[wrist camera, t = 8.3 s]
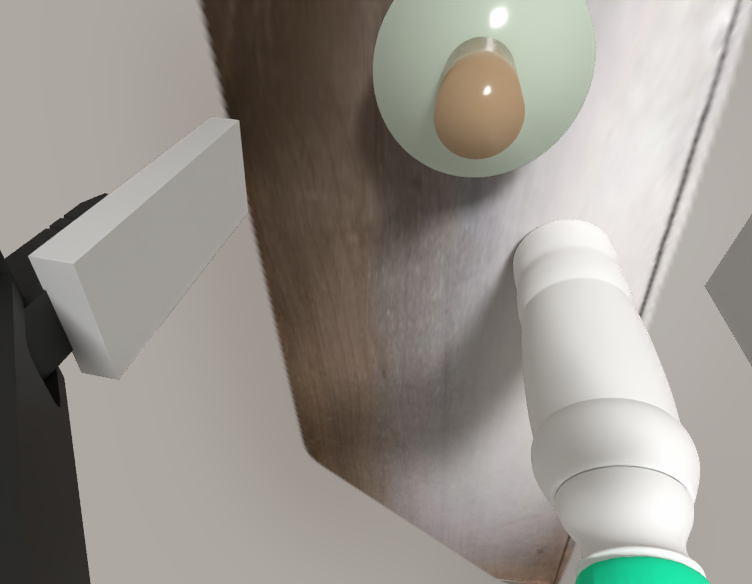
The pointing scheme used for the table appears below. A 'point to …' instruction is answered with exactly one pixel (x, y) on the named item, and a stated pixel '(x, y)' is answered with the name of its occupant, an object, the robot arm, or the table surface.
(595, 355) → the water bottle
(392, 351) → the table surface
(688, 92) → the table surface
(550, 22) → the lid
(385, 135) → the table surface
